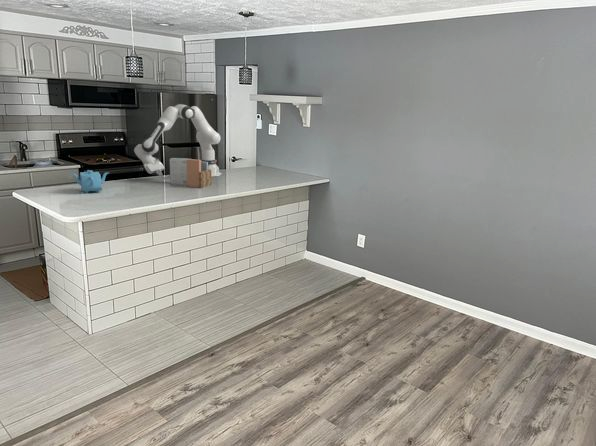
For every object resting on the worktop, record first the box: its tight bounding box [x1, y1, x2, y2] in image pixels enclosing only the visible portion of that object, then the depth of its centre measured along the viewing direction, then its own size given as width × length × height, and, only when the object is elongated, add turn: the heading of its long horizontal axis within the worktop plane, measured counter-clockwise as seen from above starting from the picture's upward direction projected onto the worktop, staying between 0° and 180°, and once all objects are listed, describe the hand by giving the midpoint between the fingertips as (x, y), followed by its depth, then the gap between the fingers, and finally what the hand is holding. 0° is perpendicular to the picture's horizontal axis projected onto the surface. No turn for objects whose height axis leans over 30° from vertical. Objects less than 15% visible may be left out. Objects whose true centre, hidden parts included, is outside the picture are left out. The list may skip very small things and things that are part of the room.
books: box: [186, 158, 208, 189], centre depth 348 cm, size 16×10×21 cm, turn 166°
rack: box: [199, 169, 213, 189], centre depth 348 cm, size 18×2×12 cm, turn 166°
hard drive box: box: [169, 157, 188, 186], centre depth 351 cm, size 16×8×20 cm, turn 84°
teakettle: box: [70, 169, 109, 194], centre depth 310 cm, size 19×19×15 cm
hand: (161, 175), depth 357 cm, fingers closed
